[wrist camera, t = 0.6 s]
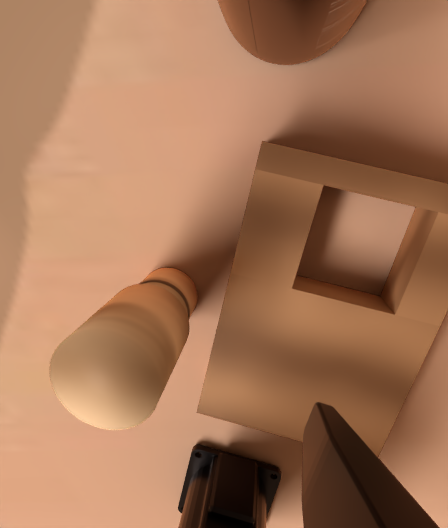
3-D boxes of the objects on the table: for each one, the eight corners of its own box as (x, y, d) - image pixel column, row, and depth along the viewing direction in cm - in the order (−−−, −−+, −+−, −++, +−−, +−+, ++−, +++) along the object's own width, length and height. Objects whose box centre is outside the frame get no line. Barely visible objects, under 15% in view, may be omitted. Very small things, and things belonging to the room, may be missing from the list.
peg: (196, 333, 22) (149, 442, 14) (131, 316, 22) (46, 413, 14) (210, 271, 21) (167, 349, 12) (141, 253, 21) (52, 318, 12)
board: (364, 430, 23) (375, 462, 20) (204, 386, 23) (196, 412, 21) (471, 191, 18) (502, 196, 15) (263, 143, 18) (262, 140, 16)
